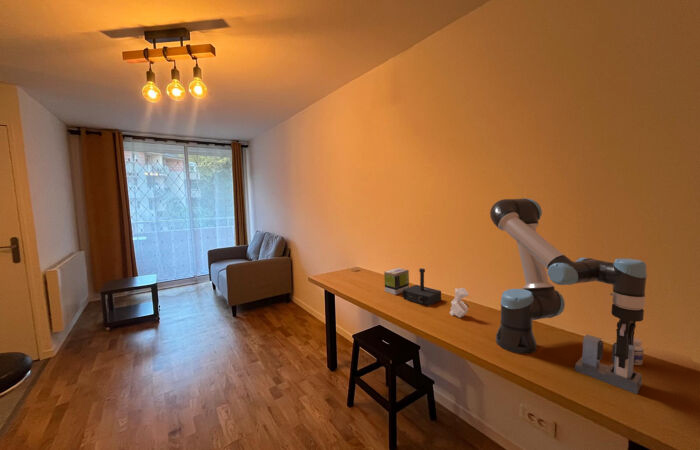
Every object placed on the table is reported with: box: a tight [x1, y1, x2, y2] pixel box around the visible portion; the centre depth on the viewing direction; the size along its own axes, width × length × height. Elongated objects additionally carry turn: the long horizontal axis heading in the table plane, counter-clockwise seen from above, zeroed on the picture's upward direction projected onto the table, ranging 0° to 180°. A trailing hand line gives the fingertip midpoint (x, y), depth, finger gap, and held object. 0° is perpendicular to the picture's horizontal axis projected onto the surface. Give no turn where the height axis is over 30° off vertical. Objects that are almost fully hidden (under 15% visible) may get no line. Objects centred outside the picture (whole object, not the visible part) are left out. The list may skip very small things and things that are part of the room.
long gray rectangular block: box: [611, 342, 635, 379], centre depth 94 cm, size 5×4×10 cm
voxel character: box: [448, 287, 470, 319], centre depth 151 cm, size 7×12×15 cm
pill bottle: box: [633, 337, 644, 366], centre depth 106 cm, size 5×5×9 cm
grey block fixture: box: [574, 334, 643, 395], centre depth 97 cm, size 16×8×12 cm, turn 36°
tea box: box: [383, 267, 410, 296], centre depth 195 cm, size 15×10×15 cm, turn 130°
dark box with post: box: [402, 268, 442, 307], centre depth 176 cm, size 19×17×20 cm
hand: (623, 372), depth 94 cm, fingers closed on long gray rectangular block, 4 cm apart
